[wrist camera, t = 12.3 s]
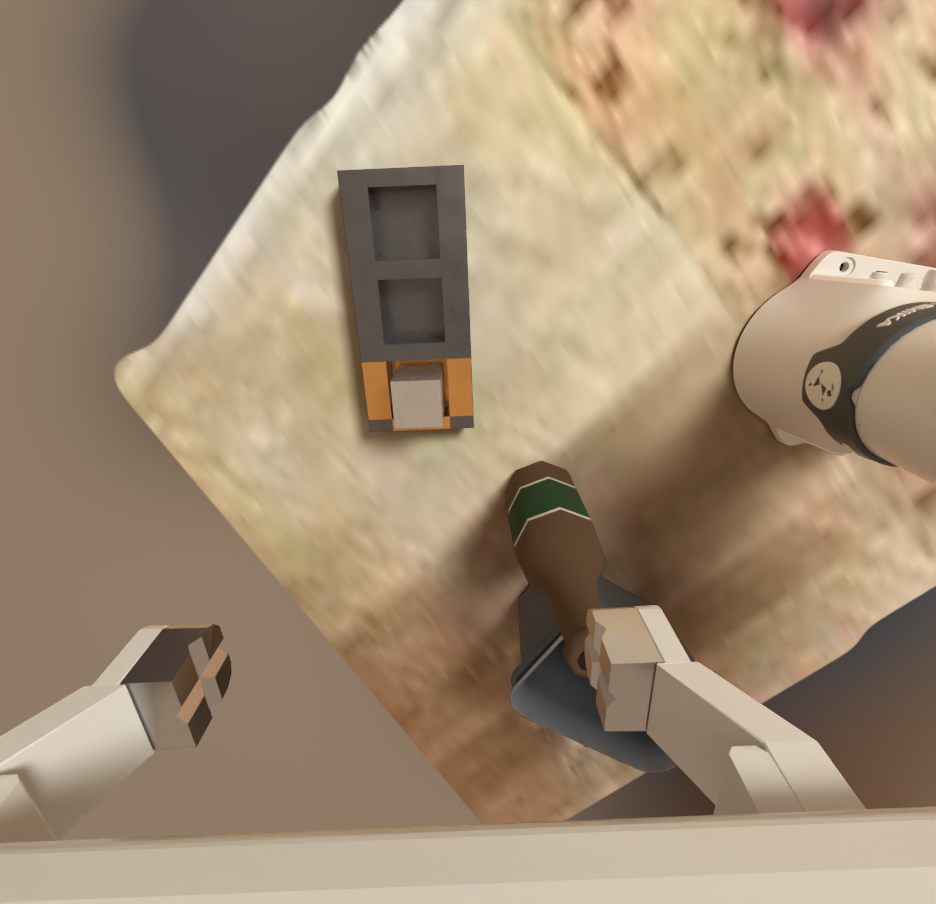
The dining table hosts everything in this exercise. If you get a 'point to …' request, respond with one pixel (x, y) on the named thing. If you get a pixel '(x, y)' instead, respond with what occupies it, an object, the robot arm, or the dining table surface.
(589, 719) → the storage bin
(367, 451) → the dining table surface
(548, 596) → the beer bottle
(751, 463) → the dining table surface
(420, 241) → the grey tray
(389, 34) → the dining table surface
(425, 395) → the block
